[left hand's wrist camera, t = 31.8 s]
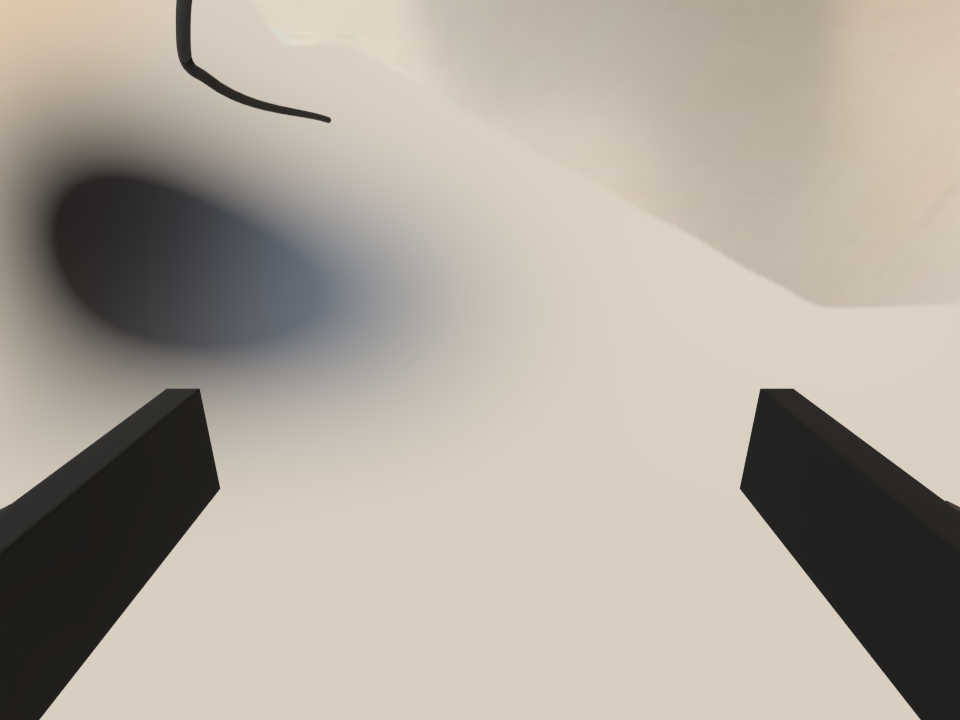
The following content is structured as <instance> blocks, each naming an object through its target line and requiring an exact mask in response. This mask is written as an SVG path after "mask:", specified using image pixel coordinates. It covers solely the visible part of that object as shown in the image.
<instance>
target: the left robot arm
mask: <svg viewBox="0 0 960 720" xmlns="http://www.w3.org/2000/svg"><path fill="white" fill-rule="evenodd" d="M191 5H192V0H177V4H176V42H177V51H178V56H179V60H180V63H181V65H182V67H183V68H184V69H185V71H186V72H187V73H189V74H190V75H191V76H192V77H194V78H196V79H198V80H199V81H201V82H203V83H204V84H206V85H207V86H209V87H210V88H212V89H213V90H215V91H216V92H218V93H220V94H221V95H223V96H225V97H227V98H229V99H231V100H234V101H236V102H239V103H241V104H244V105H247V106H250V107H253V108H257V109H261V110H265V111H269V112H274V113H279V114H285V115H291V116H297V117H303V118H309V119H314V120H319V121H322V122H326V123H330V122H331V118H330V117H327V116H324V115H321V114H317V113H313V112H308V111H303V110H299V109H294V108H289V107H284V106H280V105H275V104H271V103H268V102H264V101H261V100H257V99H255V98H252V97H249V96H246V95H244V94H242V93H240V92H238V91H235V90H233V89H232V88H230V87H228V86H226V85H225V84H223V83H221V82H220V81H219V80H217V79H216V78H214V77H213V76H212V75H210V74H209V73H208V72H206V71H205V70H203V69H202V68H200V67H198V66H197V65H195V63H194V62H193V59H192V56H191V42H190V24H191ZM219 489H220V486H219V481H218V476H217V471H216V466H215V461H214V456H213V452H212V447H211V442H210V437H209V432H208V427H207V423H206V418H205V413H204V408H203V403H202V398H201V394H200V389H166V390H164V391H163V392H162V393H160V394H159V395H158V396H156V397H155V398H154V399H152V400H151V401H150V402H148V403H147V404H146V405H144V406H143V407H142V408H140V409H139V410H138V411H136V412H135V413H134V414H132V415H131V416H129V417H128V418H127V419H125V420H124V421H123V422H121V423H120V424H119V425H117V426H116V427H115V428H113V429H112V430H111V431H109V432H108V433H107V434H105V435H104V436H102V437H101V438H100V439H98V440H97V441H96V442H94V443H93V444H92V445H90V446H89V447H88V448H86V449H85V450H84V451H82V452H81V453H80V454H78V455H77V456H75V457H74V458H73V459H71V460H70V461H69V462H67V463H66V464H65V465H63V466H62V467H61V468H59V469H58V470H57V471H55V472H54V473H53V474H51V475H50V476H48V477H47V478H46V479H44V480H43V481H42V482H40V483H39V484H38V485H36V486H35V487H34V488H32V489H31V490H30V491H28V492H27V493H26V494H24V495H23V496H22V497H20V498H19V499H17V500H16V501H15V502H13V503H12V504H10V505H8V506H6V507H4V508H2V509H0V720H39V719H40V718H41V717H42V716H43V714H44V713H45V712H46V710H47V709H48V708H49V707H50V705H51V704H52V703H53V702H54V700H55V699H56V698H57V696H58V695H59V694H60V693H61V691H62V690H63V689H64V687H65V686H66V685H67V684H68V682H69V681H70V680H71V678H72V677H73V676H74V675H75V673H76V672H77V671H78V670H79V668H80V667H81V666H82V664H83V663H84V662H85V661H86V659H87V658H88V657H89V656H90V654H91V653H92V652H93V650H94V649H95V648H96V647H97V645H98V644H99V643H100V641H101V640H102V639H103V638H104V636H105V635H106V634H107V633H108V631H109V630H110V629H111V627H112V626H113V625H114V624H115V622H116V621H117V620H118V618H119V617H120V616H121V615H122V613H123V612H124V611H125V610H126V608H127V607H128V606H129V604H130V603H131V602H132V600H133V599H134V598H135V597H136V595H137V594H138V593H139V592H140V590H141V589H142V588H143V587H144V585H145V584H146V583H147V581H148V580H149V579H150V578H151V576H152V575H153V574H154V572H155V571H156V570H157V569H158V567H159V566H160V565H161V564H162V562H163V561H164V560H165V558H166V557H167V556H168V555H169V553H170V552H171V551H172V549H173V548H174V547H175V546H176V544H177V543H178V542H179V541H180V539H181V538H182V537H183V535H184V534H185V533H186V532H187V530H188V529H189V528H190V526H191V525H192V524H193V523H194V521H195V520H196V519H197V517H198V516H199V515H200V514H201V512H202V511H203V510H204V509H205V507H206V506H207V505H208V503H209V502H210V501H211V500H212V498H213V497H214V496H215V495H216V493H217V492H218V491H219ZM740 489H741V491H742V492H743V493H744V494H745V496H746V497H747V498H748V500H749V501H750V502H751V503H752V505H753V506H754V507H755V509H756V510H757V511H758V512H759V514H760V515H761V516H762V518H763V519H764V520H765V521H766V523H767V524H768V525H769V526H770V528H771V529H772V530H773V532H774V533H775V534H776V535H777V537H778V538H779V539H780V541H781V542H782V543H783V544H784V546H785V547H786V548H787V549H788V551H789V552H790V553H791V555H792V556H793V557H794V558H795V560H796V561H797V562H798V564H799V565H800V566H801V567H802V569H803V570H804V571H805V572H806V574H807V575H808V576H809V578H810V579H811V580H812V581H813V583H814V584H815V585H816V587H817V588H818V589H819V590H820V592H821V593H822V594H823V595H824V597H825V598H826V599H827V601H828V602H829V603H830V604H831V606H832V607H833V608H834V610H835V611H836V612H837V613H838V615H839V616H840V617H841V618H842V620H843V621H844V622H845V624H846V625H847V626H848V627H849V629H850V630H851V631H852V633H853V634H854V635H855V636H856V638H857V639H858V640H859V641H860V643H861V644H862V645H863V647H864V648H865V649H866V650H867V652H868V653H869V654H870V655H871V657H872V658H873V659H874V661H875V662H876V663H877V664H878V666H879V667H880V668H881V670H882V671H883V672H884V673H885V675H886V676H887V677H888V679H889V680H890V681H891V682H892V684H893V685H894V686H895V687H896V689H897V690H898V691H899V693H900V694H901V695H902V696H903V698H904V699H905V700H906V702H907V703H908V704H909V705H910V707H911V708H912V709H913V710H914V712H915V713H916V714H917V716H918V717H919V718H920V719H921V720H960V507H958V506H956V505H954V504H952V503H950V502H948V501H944V500H942V499H941V498H940V497H938V496H937V495H936V494H934V493H933V492H932V491H930V490H929V489H928V488H926V487H925V486H924V485H922V484H921V483H920V482H918V481H917V480H916V479H914V478H913V477H911V476H910V475H909V474H907V473H906V472H905V471H903V470H902V469H901V468H899V467H898V466H897V465H895V464H894V463H893V462H891V461H890V460H889V459H887V458H886V457H885V456H883V455H882V454H880V453H879V452H878V451H876V450H875V449H874V448H872V447H871V446H870V445H868V444H867V443H866V442H864V441H863V440H862V439H860V438H859V437H858V436H856V435H855V434H853V433H852V432H851V431H849V430H848V429H847V428H845V427H844V426H843V425H841V424H840V423H839V422H837V421H836V420H835V419H833V418H832V417H831V416H829V415H828V414H827V413H825V412H824V411H822V410H821V409H820V408H818V407H817V406H816V405H814V404H813V403H812V402H810V401H809V400H808V399H806V398H805V397H804V396H802V395H801V394H799V393H798V392H797V391H796V390H794V389H760V393H759V398H758V403H757V408H756V413H755V418H754V422H753V427H752V432H751V437H750V442H749V447H748V452H747V457H746V461H745V466H744V471H743V476H742V481H741V486H740Z"/></svg>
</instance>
